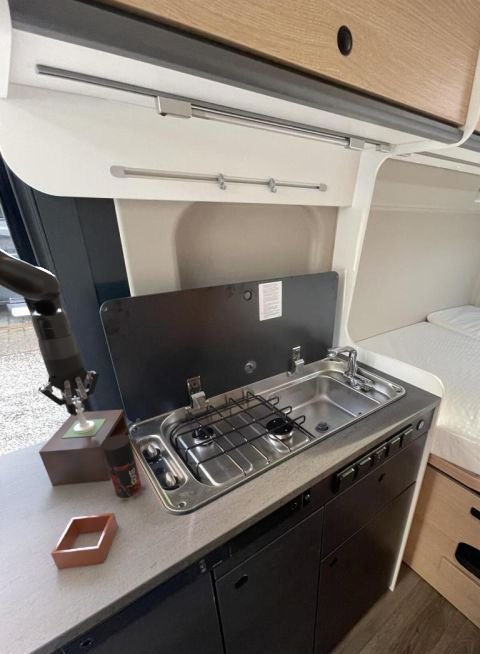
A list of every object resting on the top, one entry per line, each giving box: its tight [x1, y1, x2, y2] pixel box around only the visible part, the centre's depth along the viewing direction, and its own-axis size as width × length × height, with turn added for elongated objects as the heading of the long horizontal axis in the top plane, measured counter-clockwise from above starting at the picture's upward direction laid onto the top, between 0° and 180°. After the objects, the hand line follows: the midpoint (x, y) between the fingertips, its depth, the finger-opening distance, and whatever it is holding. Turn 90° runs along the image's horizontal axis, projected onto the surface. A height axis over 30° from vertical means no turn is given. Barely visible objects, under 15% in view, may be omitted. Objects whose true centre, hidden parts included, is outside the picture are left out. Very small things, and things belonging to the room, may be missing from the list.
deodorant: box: [102, 435, 142, 499], centre depth 81 cm, size 6×6×15 cm
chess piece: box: [72, 395, 95, 433], centre depth 87 cm, size 5×5×10 cm
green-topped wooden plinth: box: [38, 409, 130, 486], centre depth 92 cm, size 14×18×11 cm
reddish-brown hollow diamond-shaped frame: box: [50, 512, 119, 570], centre depth 68 cm, size 9×9×4 cm
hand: (79, 412), depth 87 cm, fingers closed on chess piece, 2 cm apart
